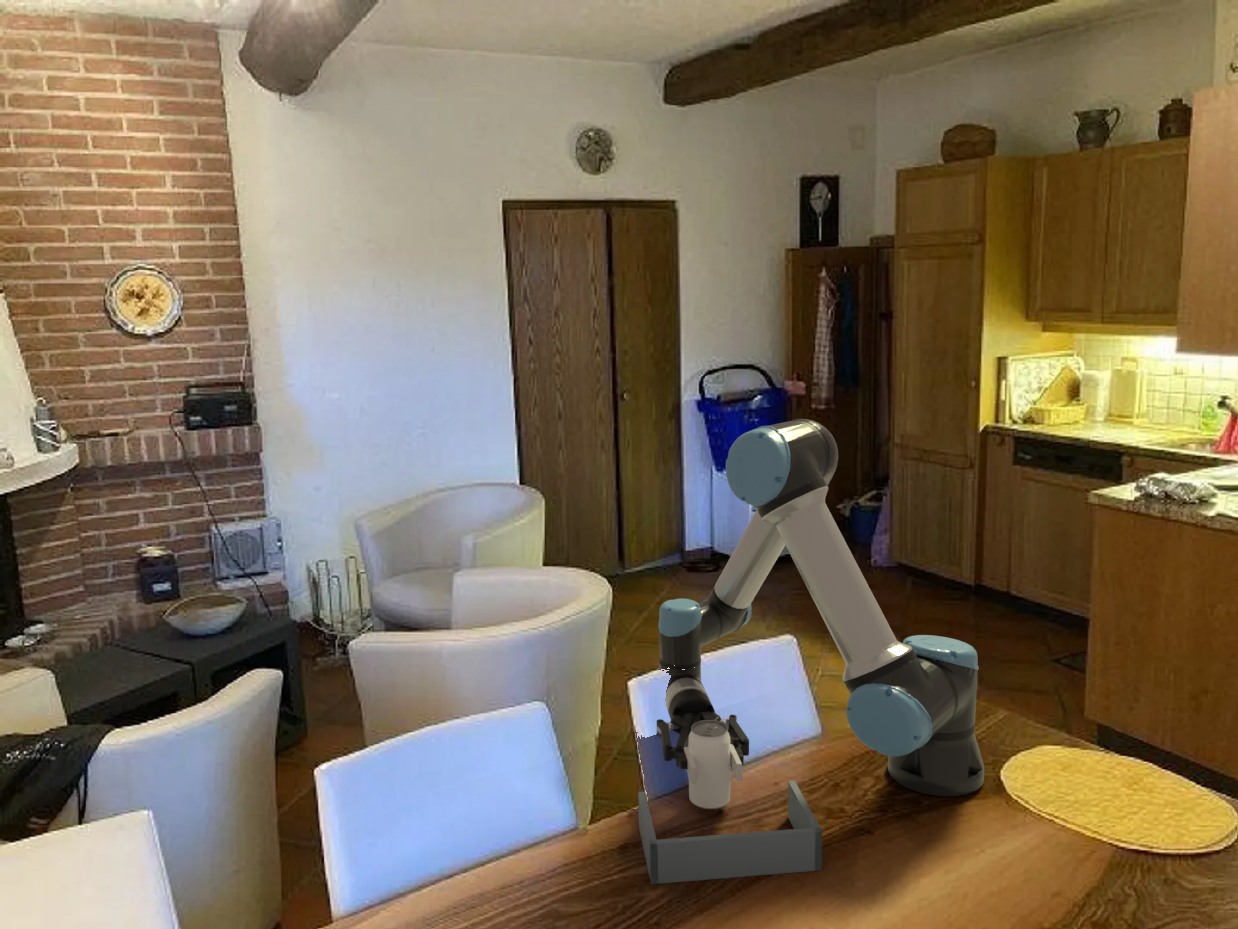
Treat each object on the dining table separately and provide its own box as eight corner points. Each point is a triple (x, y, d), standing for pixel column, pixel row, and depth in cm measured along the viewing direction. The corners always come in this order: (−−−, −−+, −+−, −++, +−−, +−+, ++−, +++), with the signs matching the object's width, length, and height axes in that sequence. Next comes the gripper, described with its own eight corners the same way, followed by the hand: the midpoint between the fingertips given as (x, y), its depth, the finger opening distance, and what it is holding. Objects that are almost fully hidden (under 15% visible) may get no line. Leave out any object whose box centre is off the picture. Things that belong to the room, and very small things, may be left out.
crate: (639, 828, 148) (638, 792, 147) (794, 816, 151) (794, 780, 149) (651, 884, 135) (650, 844, 134) (821, 870, 137) (822, 831, 136)
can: (734, 792, 155) (734, 721, 153) (725, 813, 149) (725, 740, 147) (694, 786, 157) (694, 716, 155) (684, 807, 151) (683, 734, 149)
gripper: (744, 724, 171) (779, 792, 149) (634, 732, 169) (653, 802, 147) (744, 684, 170) (779, 746, 147) (634, 691, 168) (652, 755, 145)
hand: (716, 774), depth 147 cm, fingers closed on can, 6 cm apart
